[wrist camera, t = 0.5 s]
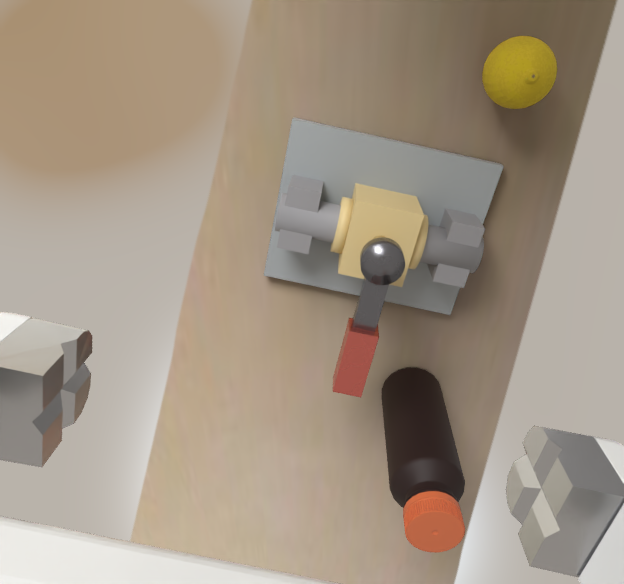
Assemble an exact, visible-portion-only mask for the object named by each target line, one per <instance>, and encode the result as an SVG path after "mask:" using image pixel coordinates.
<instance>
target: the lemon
mask: <svg viewBox="0 0 624 584" xmlns="http://www.w3.org/2000/svg"><path fill="white" fill-rule="evenodd" d="M556 74H557V62H556V59H555V56H554V53H553V52H552V50H551V49H550V48H549V46H548V45H547V44H545V43H544V42H543V41H541V40H540V39H537V38H534V37H531V36H517V37H513V38H510V39H508V40H506V41H504V42H502V43H500V44H499V45H498V46H497V47H496V48H494V49H493V51H492V52H491V53H490V54H489V56H488V57H487V60H486V62H485V64H484V68H483V72H482V81H483V85H484V89H485V91H486V93H487V94H488V96H489V97H490V98H491V99H492V100H493V101H494V102H495V103H496V104H498V105H500V106H502V107H505V108H511V109H520V108H526V107H529V106H532V105H534V104H535V103H537V102H539V101H540V100H542V99H543V98H544V97H545V96H546V95H547V94H548V92H549V91H550V90H551V88H552V87H553V84H554V82H555V79H556Z"/></svg>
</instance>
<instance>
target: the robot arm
mask: <svg viewBox="0 0 624 584" xmlns="http://www.w3.org/2000/svg"><path fill="white" fill-rule="evenodd" d="M91 353H92V335H91V333H90V332H89V331H88V330H85V329H80V328H76V327H71V326H67V325H63V324H59V323H54V322H50V321H46V320H41V319H37V318H32V317H29V316H24V315H19V314H14V313H9V312H1V313H0V460H3V461H9V462H14V463H21V464H27V465H32V466H38V467H43V465H44V464H45V463H46V461H47V460H48V459H49V457H50V456H51V454H52V453H53V452H54V450H55V449H56V448H57V446H58V445H59V444H60V442H61V441H62V429H63V428H65V427H67V426H70V425H72V424H74V423H75V421H76V420H77V418H78V417H79V415H80V414H81V412H82V410H83V408H84V405H85V403H86V400H87V398H88V393H89V389H90V379H91V373H90V371H89V370H88V368H87V367H86V365H85V363H84V362H85V360H86V359H87V358H88V357H89V355H90V354H91ZM523 445H524V448H525V451H526V455H524V456H523V457H521V458H519V459H517V460H516V461H514V463H513V465H512V467H511V470H510V472H509V475H508V479H507V487H506V494H507V503H508V506H509V509H510V512H511V514H512V515H513V516H514V517H515V518H516V519H517V520H518V521H519V522H520V523H521V524H522V528H521V529H520V531H519V533H518V535H519V537H520V540H521V543H522V545H523V549H524V551H525V554H526V557H527V560H528V562H529V565H530V566H531V567H536V568H540V569H545V570H549V571H553V572H558V573H562V574H566V575H570V576H575V577H579V578H578V581H580V583H581V584H624V446H623V445H622V444H620V443H619V442H617V441H615V440H611V439H606V438H600V437H594V436H586V435H581V434H576V433H571V432H565V431H560V430H555V429H549V428H544V427H539V426H533V427H532V429H531V430H530V431H529V432H528V433H527V435H526V437H525V440H524V442H523ZM0 584H341V583H336V582H331V581H326V580H321V579H316V578H311V577H306V576H300V575H295V574H290V573H285V572H280V571H275V570H270V569H265V568H260V567H255V566H250V565H245V564H240V563H235V562H230V561H225V560H220V559H215V558H210V557H205V556H200V555H195V554H190V553H185V552H180V551H175V550H170V549H165V548H160V547H155V546H150V545H145V544H140V543H134V542H129V541H124V540H119V539H114V538H109V537H104V536H99V535H94V534H88V533H84V532H79V531H74V530H69V529H64V528H59V527H54V526H49V525H44V524H39V523H34V522H29V521H24V520H19V519H14V518H9V517H4V516H0Z"/></svg>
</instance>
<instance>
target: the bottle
mask: <svg viewBox="0 0 624 584" xmlns="http://www.w3.org/2000/svg"><path fill="white" fill-rule="evenodd" d="M382 405H383V416H384V428H385V439H386V450H387V461H388V472H389V484H390V490H391V493H392V495H393V498H394V499H395V500H396V502H397V503H398V504H399V505H400V506H401V507H403V518H404V526H405V534H406V538H407V540H408V541H410V543H411V544H412V545H413V546H414V547H416V548H418V549H420V550H423V551H427V552H442V551H447V550H449V549H451V548H453V547H455V546H456V545H458V543H460V542H461V540H462V538H463V537H464V535H465V534H464V533H465V526H464V522H463V518H462V513H461V509H460V506H459V503H458V501H459V500H460V498H461V496H462V494H463V492H464V485H465V480H464V476H463V473H462V469H461V465H460V461H459V457H458V453H457V449H456V445H455V442H454V438H453V434H452V430H451V426H450V422H449V418H448V414H447V410H446V407H445V403H444V399H443V395H442V391H441V388H440V384H439V382H438V380H437V379H436V378H435V377H434V376H433V375H432V374H431V373H429V372H428V371H426V370H423V369H420V368H404V369H401V370H398V371H396V372H394V373H393V374H391V375H390V376H389V377H388V378H387V379H386V381H385V383H384V385H383V388H382Z"/></svg>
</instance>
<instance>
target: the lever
mask: <svg viewBox="0 0 624 584" xmlns="http://www.w3.org/2000/svg"><path fill="white" fill-rule="evenodd" d="M360 266H361V271H362V274H363V276H364V280H363V284H362V287H361V291H360V295H359V298H358V302H357V306H356V309H355V313H354V317H353V318H349V320H348V324H347V328H346V331H345V335H344V339H343V343H342V346H341V350H340V354H339V358H338V361H337V365H336V369H335V373H334V376H333V392H338V393H342V394H347V395H352V396H357V397H361V395H362V392H363V389H364V385H365V382H366V379H367V375H368V372H369V369H370V365H371V362H372V359H373V355H374V352H375V349H376V345H377V342H378V339H379V333H378V320H379V317H380V314H381V310H382V307H383V304H384V300H385V297H386V293H387V290H388V287H389V284H391V283H393V282H395V281H397V280H398V279H399V278H400V277H401V275H402V274H403V272H404V269H405V259H404V255H403V251H402V249H401V247H400V245H399V244H398V243H397V242H395V241H394V240H392V239H390V238H385V237H380V238H375V239H373V240H371V241H369V242H368V243H367V244H366V245H365V246H364V247H363V249H362V251H361V254H360Z"/></svg>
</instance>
